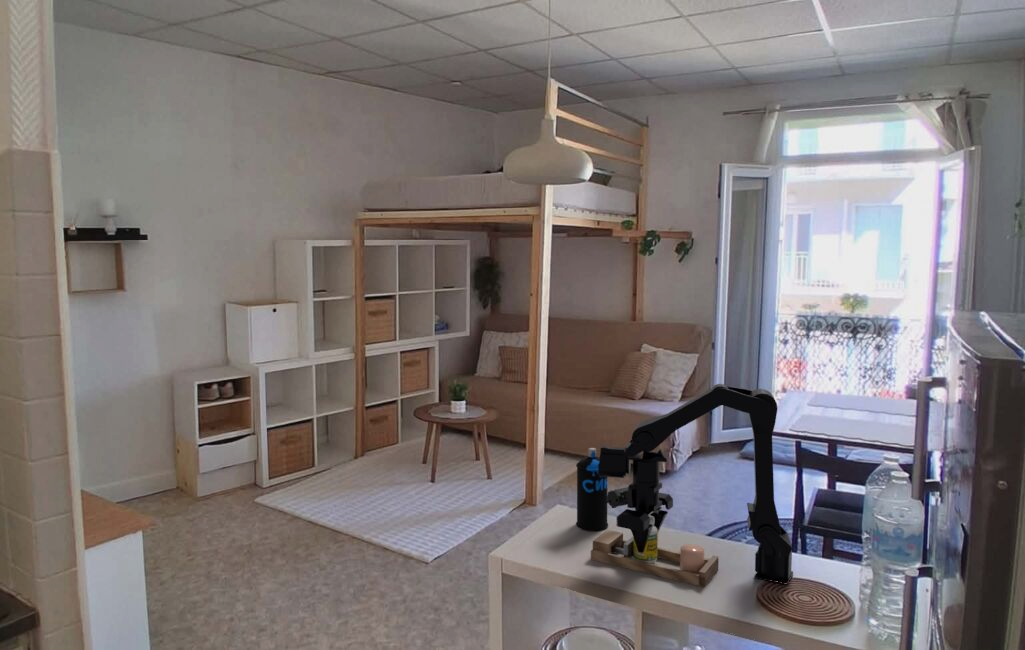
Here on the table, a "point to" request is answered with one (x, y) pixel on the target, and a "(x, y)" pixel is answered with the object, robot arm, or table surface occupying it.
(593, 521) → the aerosol can
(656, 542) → the supplement bottle
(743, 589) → the table surface
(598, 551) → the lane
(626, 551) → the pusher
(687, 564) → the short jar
